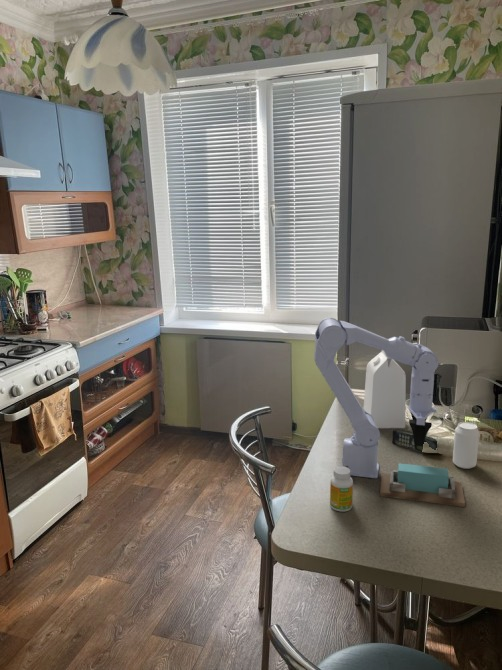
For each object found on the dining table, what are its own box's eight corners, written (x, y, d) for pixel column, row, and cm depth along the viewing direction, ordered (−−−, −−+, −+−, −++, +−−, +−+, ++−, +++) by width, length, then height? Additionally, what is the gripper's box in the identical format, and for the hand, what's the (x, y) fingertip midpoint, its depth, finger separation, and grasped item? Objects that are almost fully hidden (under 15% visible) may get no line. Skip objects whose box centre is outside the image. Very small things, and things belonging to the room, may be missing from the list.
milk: (405, 427, 170) (409, 351, 164) (370, 428, 170) (373, 352, 164) (395, 413, 182) (399, 342, 175) (362, 413, 182) (365, 342, 175)
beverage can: (478, 471, 142) (482, 430, 139) (454, 469, 143) (457, 429, 140) (473, 460, 148) (477, 421, 145) (450, 458, 149) (453, 420, 146)
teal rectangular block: (397, 488, 132) (398, 470, 131) (397, 480, 136) (398, 463, 135) (447, 494, 129) (448, 476, 128) (446, 486, 133) (447, 468, 131)
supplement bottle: (338, 514, 123) (339, 477, 121) (325, 503, 128) (326, 468, 126) (356, 508, 126) (358, 472, 123) (343, 497, 130) (344, 462, 128)
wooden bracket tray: (380, 495, 131) (380, 485, 130) (381, 476, 140) (382, 466, 139) (464, 506, 125) (465, 495, 125) (460, 485, 135) (461, 475, 134)
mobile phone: (391, 430, 158) (440, 442, 148) (395, 426, 160) (444, 438, 151) (391, 445, 159) (440, 458, 150) (395, 441, 161) (443, 454, 152)
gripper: (438, 403, 129) (435, 453, 133) (436, 384, 143) (433, 429, 146) (409, 400, 131) (406, 449, 135) (409, 382, 145) (406, 427, 148)
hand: (418, 439), depth 140 cm, fingers open, 7 cm apart
